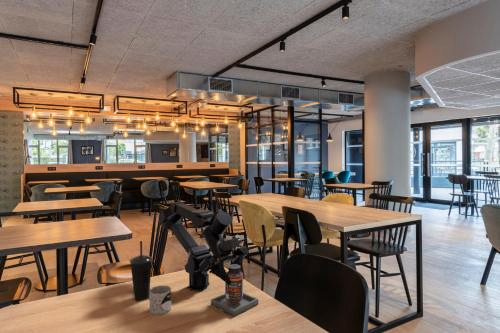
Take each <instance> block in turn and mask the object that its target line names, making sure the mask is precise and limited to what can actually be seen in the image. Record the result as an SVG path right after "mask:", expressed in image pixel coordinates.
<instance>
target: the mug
mask: <svg viewBox="0 0 500 333" xmlns="http://www.w3.org/2000/svg"><path fill="white" fill-rule="evenodd" d="M171 310H172V287H171V285H157V286H154V287H151V288H150V291H149V312H150V314H151V315H153V316H162V315H165V314H168V313H169V312H170V311H171Z"/></svg>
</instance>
